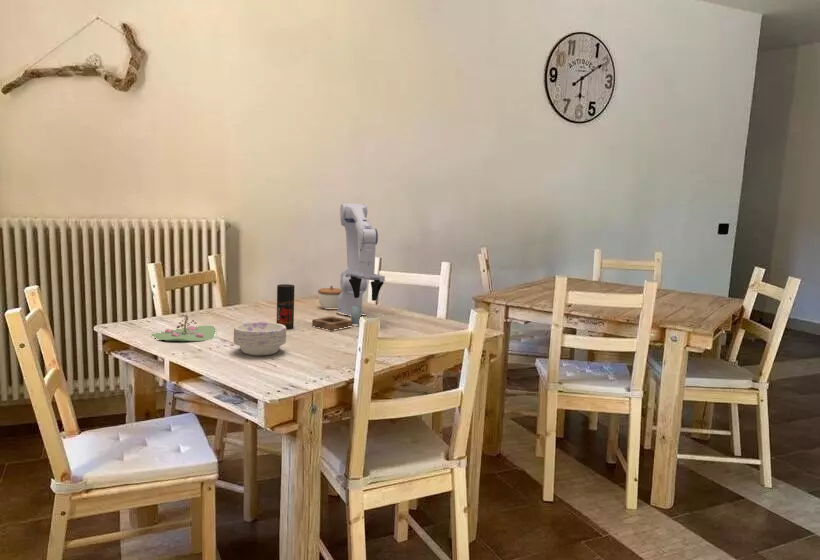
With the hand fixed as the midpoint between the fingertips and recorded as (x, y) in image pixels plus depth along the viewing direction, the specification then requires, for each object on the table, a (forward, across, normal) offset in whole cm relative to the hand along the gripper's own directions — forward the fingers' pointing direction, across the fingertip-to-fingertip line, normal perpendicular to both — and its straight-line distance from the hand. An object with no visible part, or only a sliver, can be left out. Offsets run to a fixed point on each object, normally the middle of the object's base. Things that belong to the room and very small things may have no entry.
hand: (365, 299), depth 230 cm
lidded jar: (+10, -28, +18) cm, 35 cm away
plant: (+11, -36, -49) cm, 62 cm away
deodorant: (+10, -19, -22) cm, 31 cm away
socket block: (+10, -7, -10) cm, 16 cm away
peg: (+10, -3, -2) cm, 10 cm away
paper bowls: (+10, -3, -51) cm, 52 cm away
